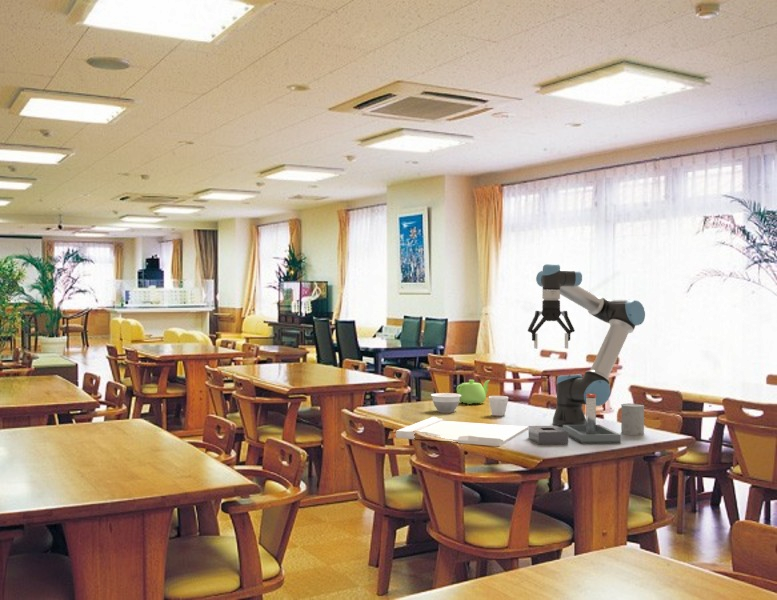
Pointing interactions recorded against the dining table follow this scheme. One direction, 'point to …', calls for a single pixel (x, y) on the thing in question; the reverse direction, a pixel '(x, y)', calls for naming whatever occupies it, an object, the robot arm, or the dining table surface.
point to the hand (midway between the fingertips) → (551, 348)
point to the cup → (498, 405)
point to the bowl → (446, 401)
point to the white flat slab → (463, 431)
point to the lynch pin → (590, 413)
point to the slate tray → (592, 435)
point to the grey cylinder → (632, 419)
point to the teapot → (472, 392)
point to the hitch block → (548, 435)
